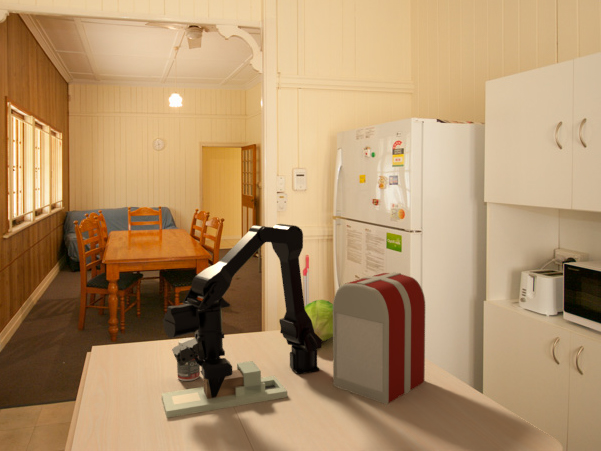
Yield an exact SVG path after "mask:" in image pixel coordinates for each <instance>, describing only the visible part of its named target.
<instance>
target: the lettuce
mask: <svg viewBox="0 0 601 451" xmlns="http://www.w3.org/2000/svg"><path fill="white" fill-rule="evenodd" d="M304 307H305V311H306V312H307V314H308V316H309V317H310V319H311V321H312V324H313V328H314V333H315V334H316V335H317V336H318V337H319V338H321V339H322V342H324V341H325V342H326V341H327V340H329V339H330V338H333V303H331V301H329V300H325V299H317V300H314V301H312V302H309V303H307V304H306V305H304Z"/></svg>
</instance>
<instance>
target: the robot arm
mask: <svg viewBox="0 0 601 451" xmlns="http://www.w3.org/2000/svg"><path fill="white" fill-rule="evenodd" d="M265 243H271V246H272V249H273V251H274V253H275V254H276V256H277V258H278V259H279V264H280V272H281V281H282V287H283V296H284V303H285V304H284V305H285V314H284V316H283V317H282V318H279V322H278V323H279V325H280V331H279V332H280V334H281V335H282V337H283V338H284V339H285V340H286V343H287V345H290V346H291V349H290V350H291V351H290V352H289V367H290V368H291V369H292V370H293V372H295V374H297V375H300V374H306V373H312V372H318V371H321V370H320V368H319V366H318V350H320V349H321V348H322V345H323V341H322V339H321V338H319V337H318V336H317V335H316V334H315V333H314V328H313V324H312V321H311V319H310V317H309V316H308V314H307V312H306V311H305V299H304V290H303V285H302V284H303V282H302V275H301V267H300V266H301V265H300V255H301V253H302V251H303V248H304V233H303V230H302V228H300V227H299V226H297V225H293V224H284V223H278V224H274V226H273V227H271V226H264V225H258V224H255V225H252V226H251V227H250V228H249V229H248V231H247V233H246V234H245V235H243V236H242V237H241V239H239V241H237V243H235V245H234V246H232V248H231V249H230V250H229V251H228V252H227V253H226V254H225V255H224V256H222V258H221V259H220V260H219V261H217V262H216V263H215V264H213V265H211V266H209V267H206V268H204V269H203V270H202V271H201V272H199V273H198V274H197V275H195V276H194V277H193V279H192V281H191V286H190V288H189V290H188V292H187V293H186V295H185V297H184V299H183V300H182V304H178V305H169V306H166V311H167V312H165V313H164V315H163V316H164V317H163V319H162V326H163V330H164V333H165V335H166V336H167V338H168V339H174V338H176V337H177V338H178V337H182V336H185V335H190V334H193V333H194V337H193V338H194V339H191V340H188V341H186V342H184V343H182V344H180V345H179V344H177V345H175V346H173V348H172V350H171V351H172V352H173V355H174V358H175V360H176V363H177V362H178V365H179V366H183V365H185V364H186V363H187V362H189V361H191V360H193V359H195V361H196V363H197V364H198V365H200V368H201V370H200V374H201V376H202V377H204V379H208V384H209V388H210V393H211V397H212V398H213V397H216V396H217V394H218V392H219V390H220V387H221V385H222V383H223V381H224V379H225V377H226V376H231V375H232V371H233V365H232V364H231V362H230V361H229V360H228V359H227V358H226V357H224V356H225V355H226V351H225V349H224V346H223V342H224V341H223V340H224V339H225V333H224V332H223V318H222V317H223V316H222V315H223V313H222V309H225V308H230V306H231V304H230V303H229V302H227V301H226V300H225V298H224V296H225V295H226V293H227V291H228V290H229V288H230V287H231V284H232V280H233V279H234V276H235V275H236V274H237V272H239V271H240V270H241V269H242V267H243V266H244V265H245V264H246V263H247V262H248V261H249V260H250V259H251V258H252V257H253V256H254V255H255V254H256V252H258V251H259V250H260V248H261V247H262V246H263V245H264V244H265ZM198 298H200V299H202V300H200V299H198ZM222 356H223V357H222Z"/></svg>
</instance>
